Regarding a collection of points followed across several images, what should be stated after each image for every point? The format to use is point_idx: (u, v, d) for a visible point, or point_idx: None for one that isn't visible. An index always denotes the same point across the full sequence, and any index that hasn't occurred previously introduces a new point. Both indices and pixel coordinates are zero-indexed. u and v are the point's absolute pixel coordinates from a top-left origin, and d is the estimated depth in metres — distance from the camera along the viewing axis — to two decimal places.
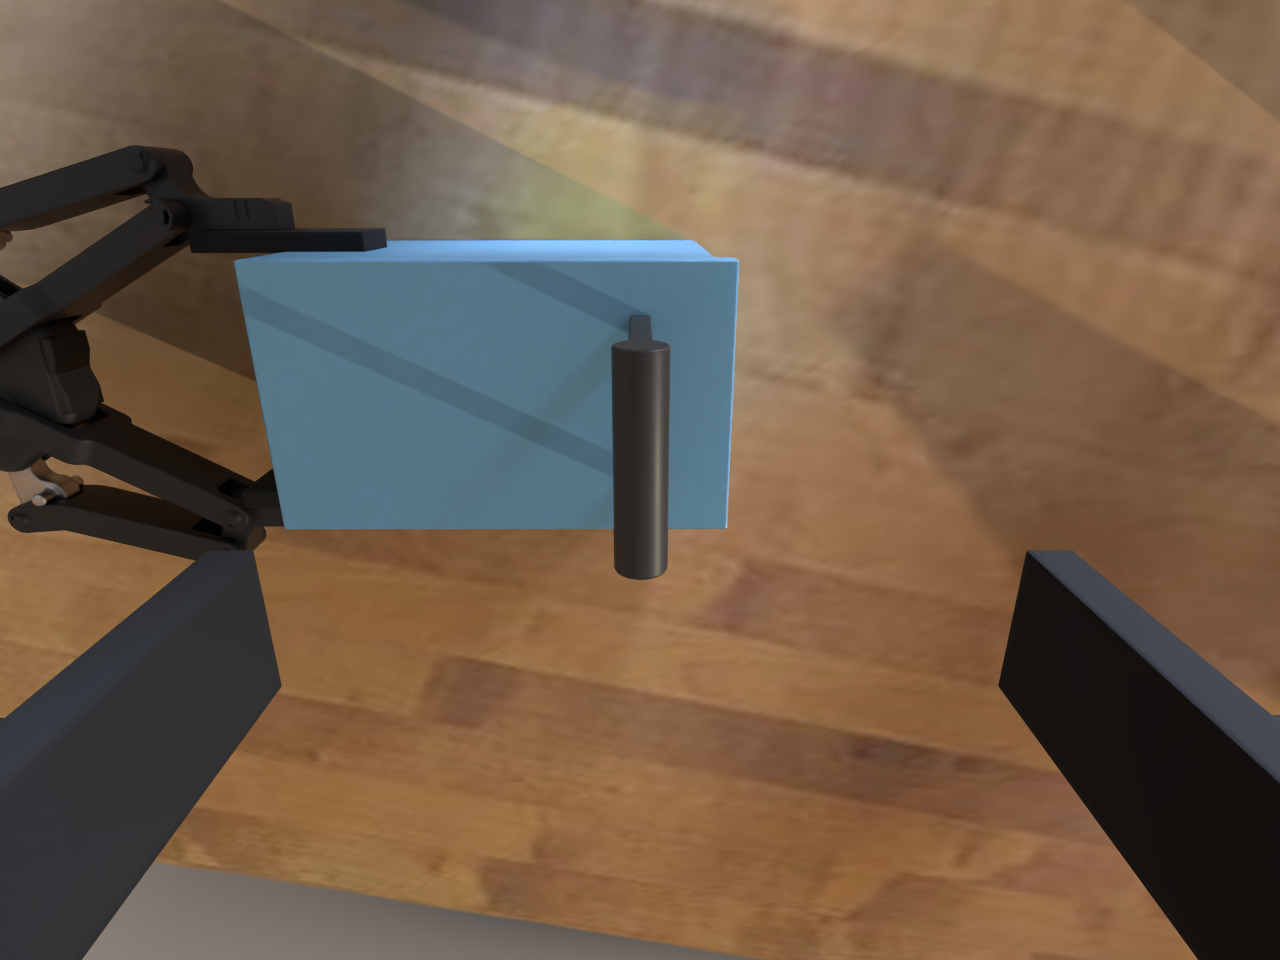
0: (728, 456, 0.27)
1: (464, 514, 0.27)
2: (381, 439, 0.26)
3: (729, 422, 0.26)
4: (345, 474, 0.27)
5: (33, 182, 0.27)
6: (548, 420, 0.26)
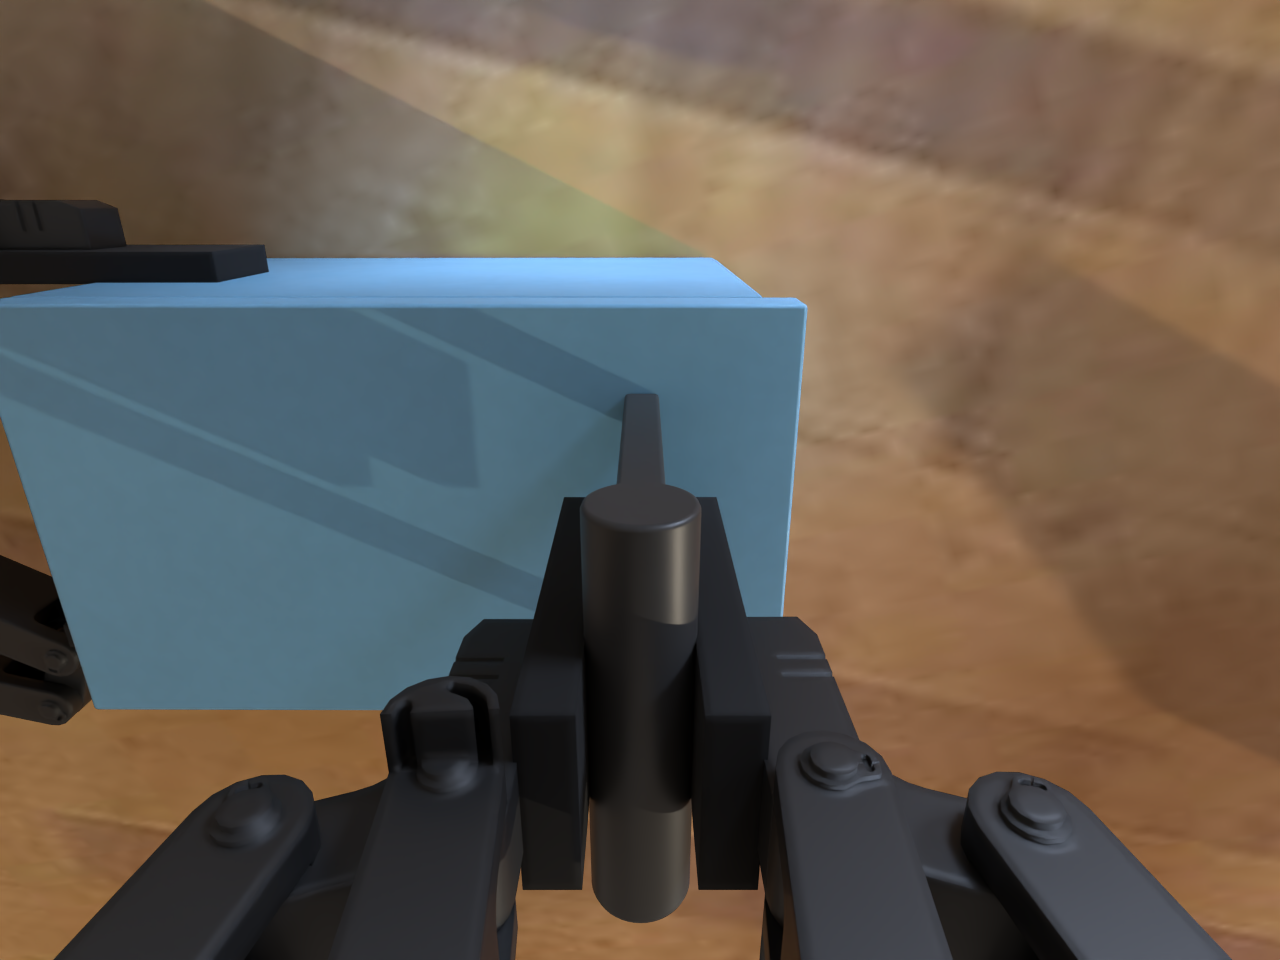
0: (780, 608, 0.17)
1: (369, 689, 0.18)
2: (232, 581, 0.17)
3: (784, 558, 0.16)
4: (180, 632, 0.17)
5: None
6: (494, 554, 0.16)
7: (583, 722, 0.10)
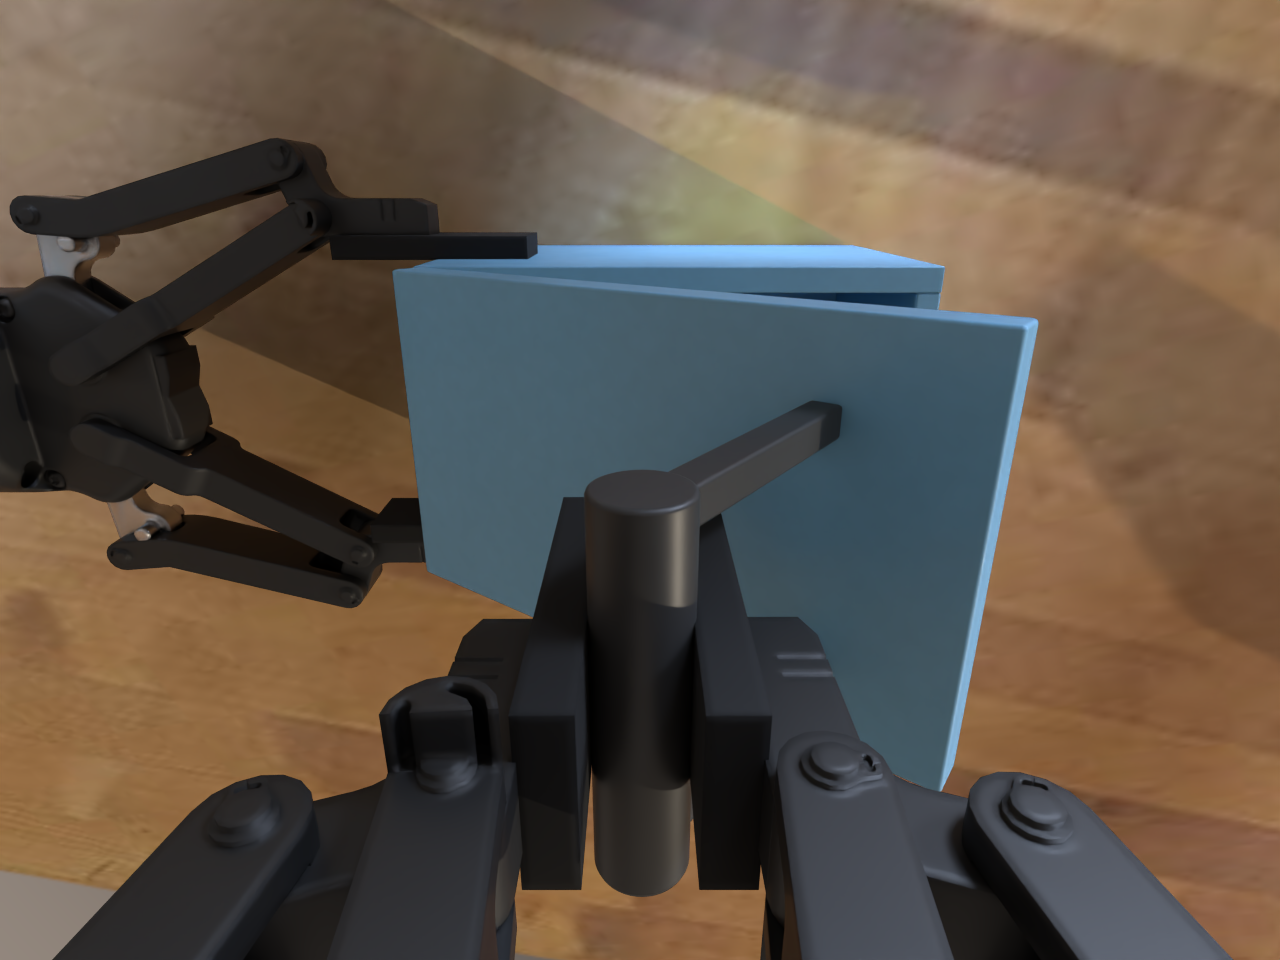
0: (958, 677, 0.14)
1: None
2: (506, 501, 0.21)
3: (967, 621, 0.14)
4: (474, 531, 0.22)
5: (157, 180, 0.24)
6: None
7: (582, 722, 0.10)
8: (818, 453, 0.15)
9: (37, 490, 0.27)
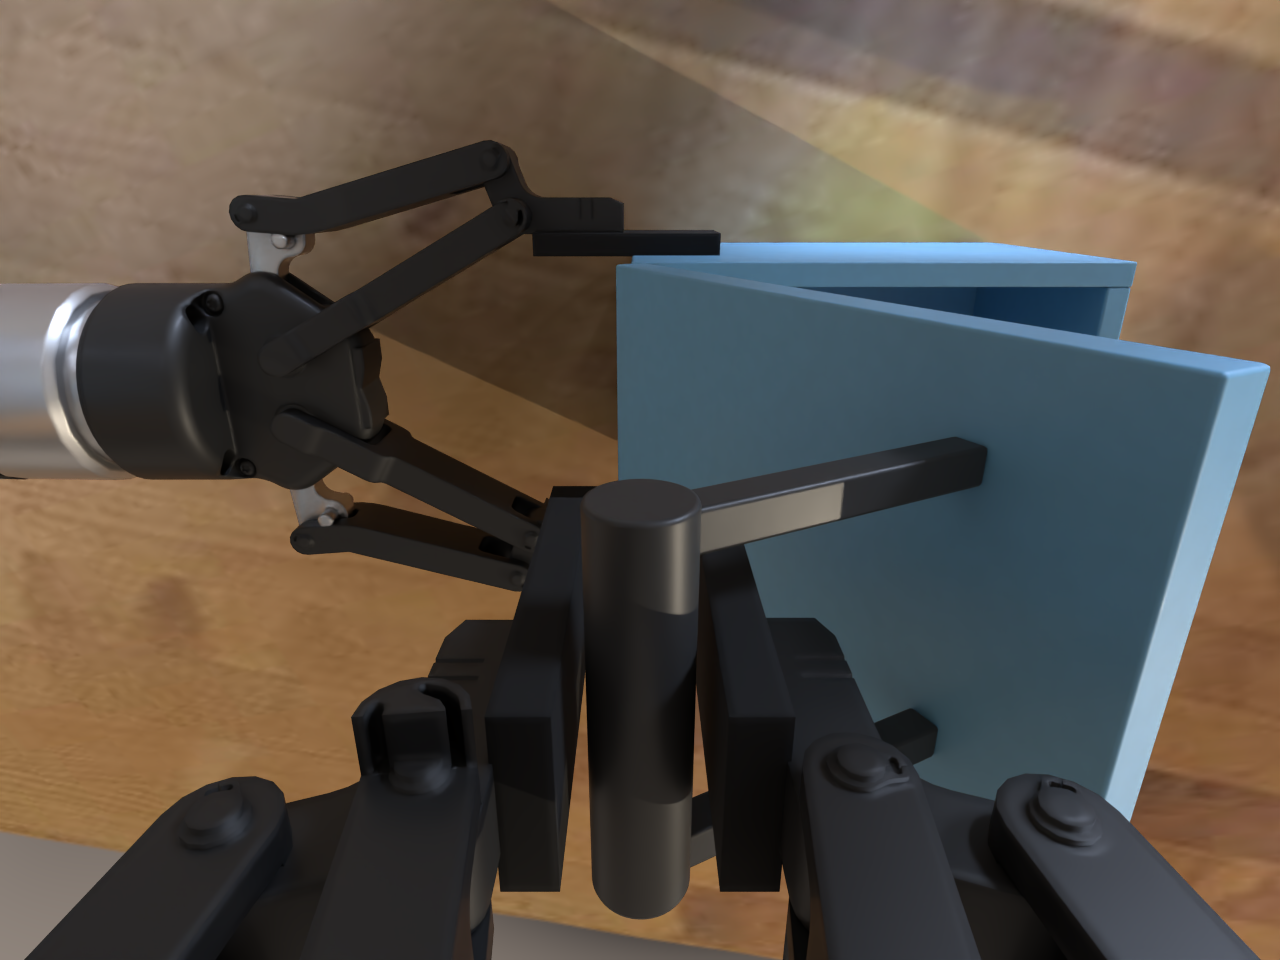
0: None
1: None
2: None
3: (1112, 746, 0.11)
4: None
5: (372, 180, 0.25)
6: (819, 560, 0.16)
7: (561, 723, 0.10)
8: (958, 499, 0.12)
9: (230, 477, 0.29)
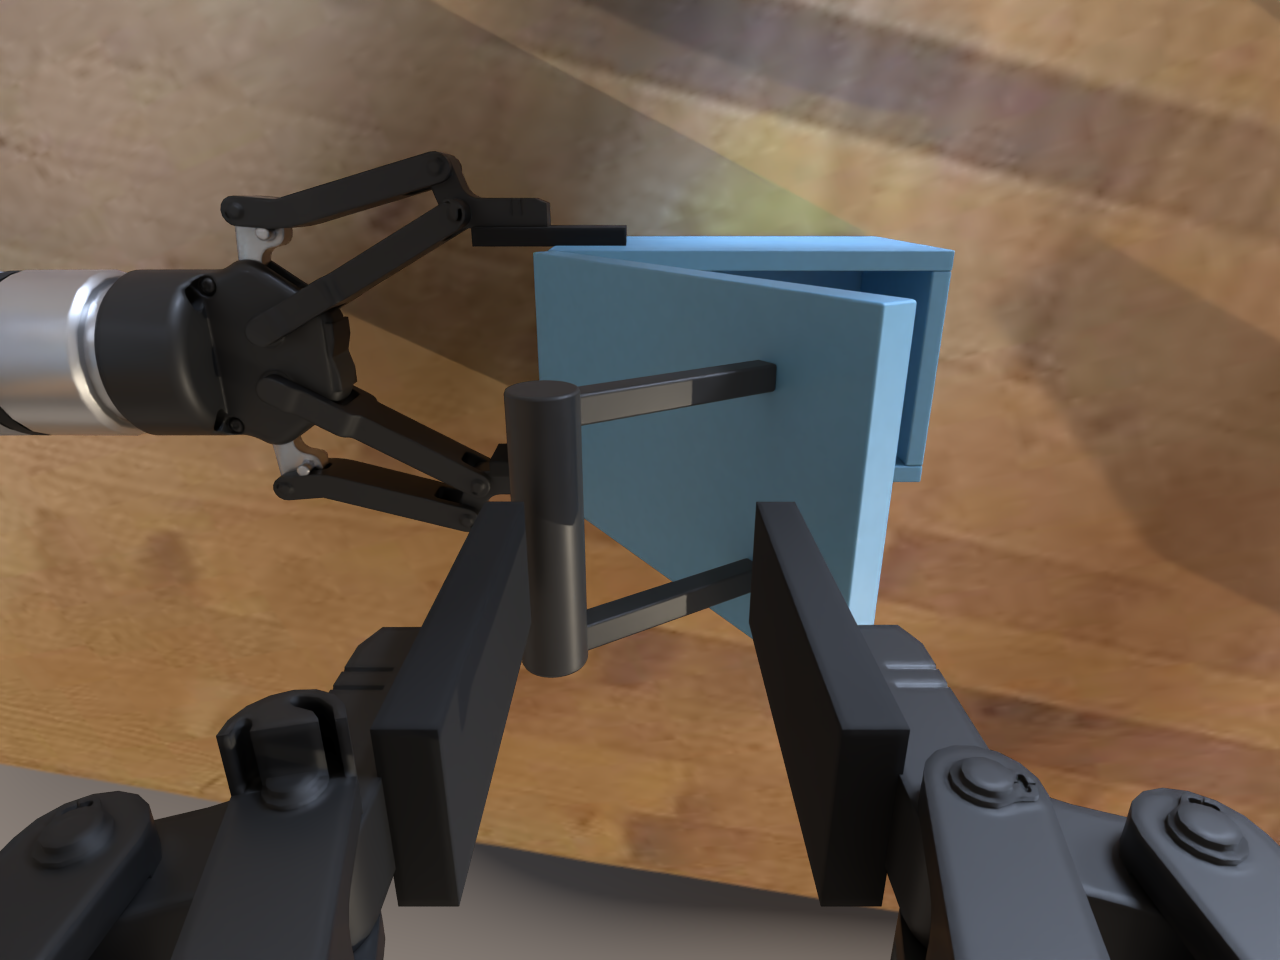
0: (846, 597, 0.17)
1: (628, 535, 0.26)
2: (588, 435, 0.27)
3: (851, 548, 0.17)
4: None
5: (338, 183, 0.30)
6: (686, 464, 0.22)
7: (463, 734, 0.09)
8: (763, 403, 0.19)
9: (222, 433, 0.34)
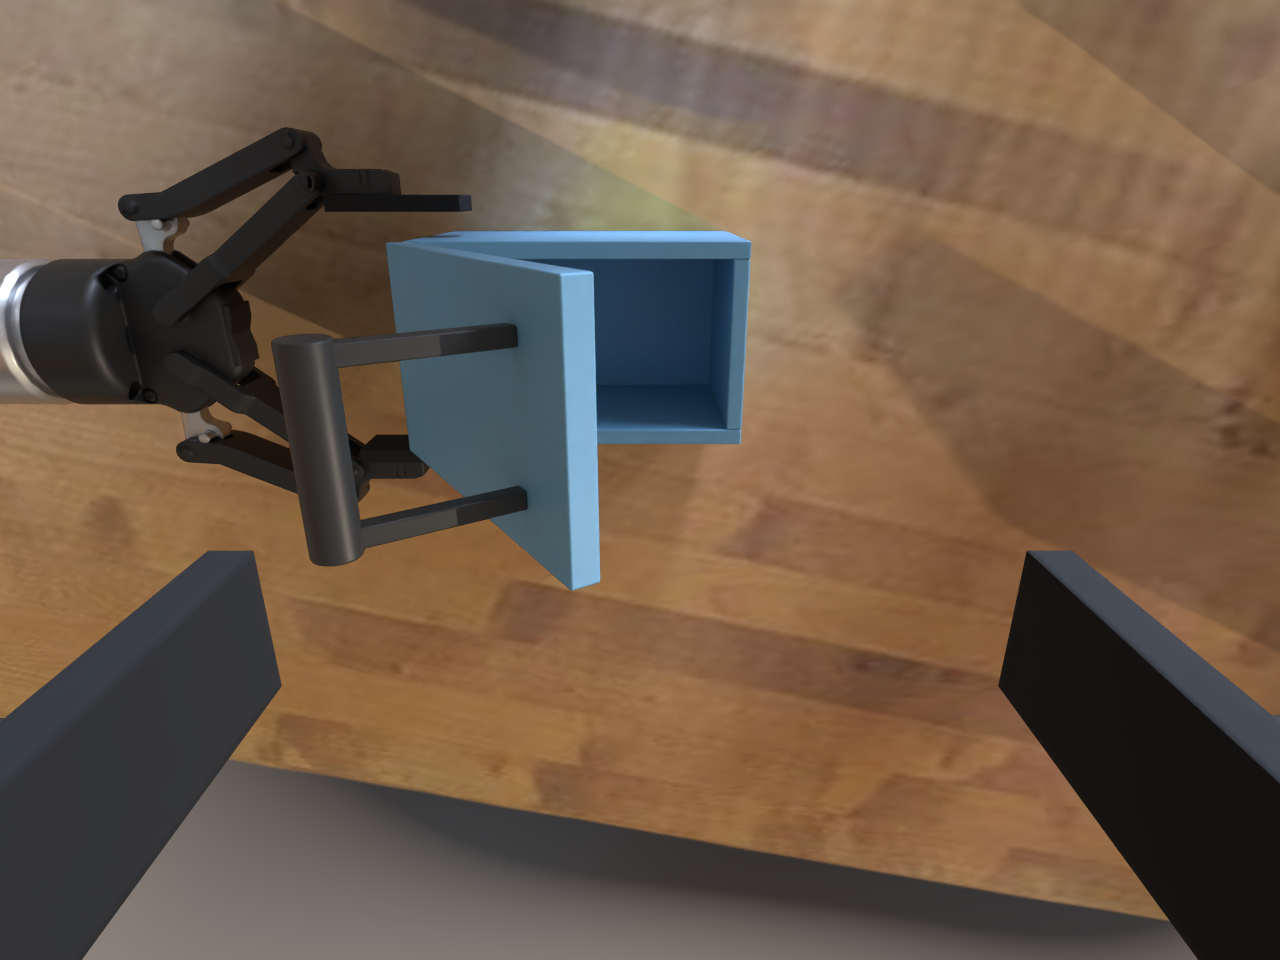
0: (567, 506, 0.22)
1: (458, 480, 0.31)
2: (429, 397, 0.32)
3: (565, 466, 0.22)
4: (422, 419, 0.33)
5: (211, 169, 0.35)
6: (481, 413, 0.27)
7: (0, 877, 0.07)
8: (514, 357, 0.23)
9: (138, 402, 0.39)
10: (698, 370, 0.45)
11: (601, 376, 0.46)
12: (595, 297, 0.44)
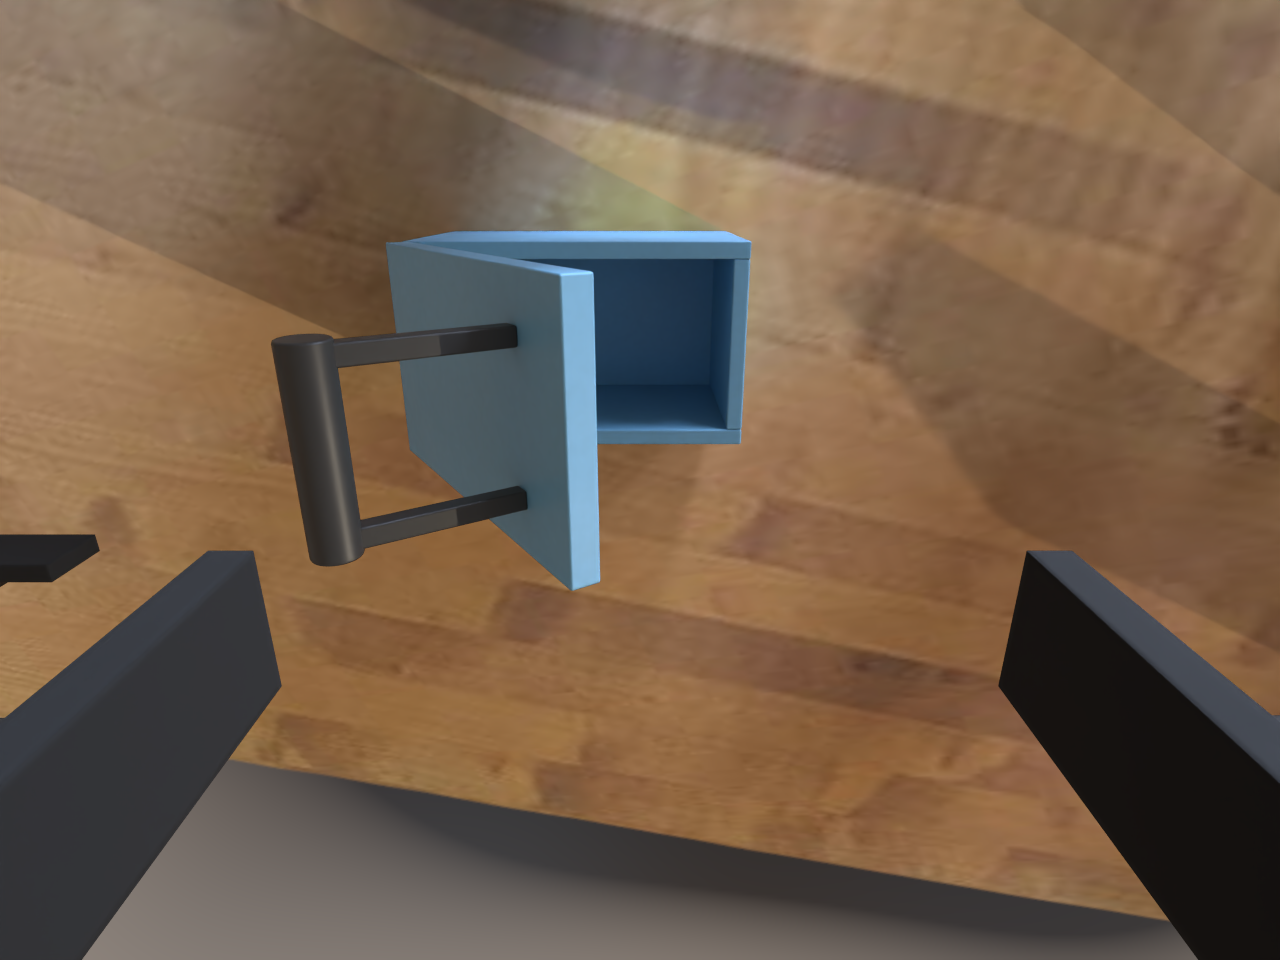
0: (567, 506, 0.22)
1: (458, 480, 0.31)
2: (429, 397, 0.32)
3: (565, 466, 0.22)
4: (422, 419, 0.33)
5: None
6: (481, 413, 0.27)
7: (0, 877, 0.07)
8: (514, 357, 0.23)
9: None
10: (698, 370, 0.45)
11: (601, 376, 0.46)
12: (595, 297, 0.44)
